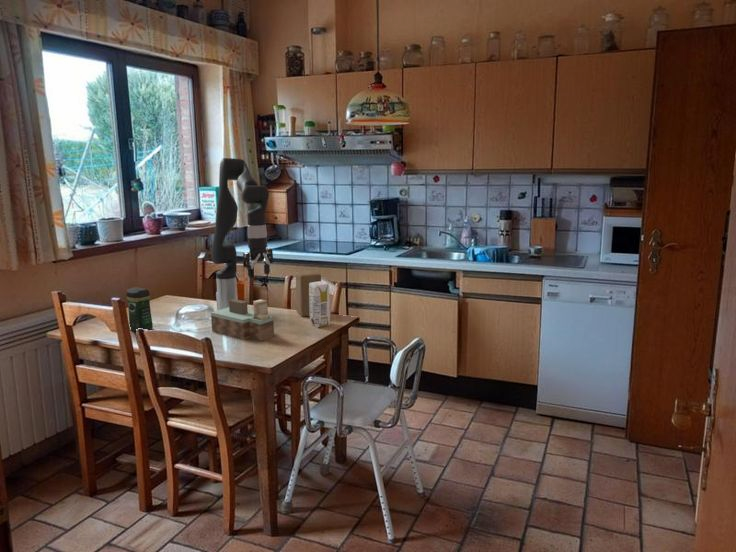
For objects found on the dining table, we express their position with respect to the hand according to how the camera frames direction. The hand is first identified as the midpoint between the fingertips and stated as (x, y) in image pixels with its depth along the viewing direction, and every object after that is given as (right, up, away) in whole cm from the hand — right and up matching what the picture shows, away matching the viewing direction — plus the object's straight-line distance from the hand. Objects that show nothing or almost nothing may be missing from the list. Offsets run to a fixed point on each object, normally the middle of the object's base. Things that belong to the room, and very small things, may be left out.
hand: (259, 275), depth 230 cm
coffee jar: (-55, -23, +17) cm, 62 cm away
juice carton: (+23, -22, +22) cm, 39 cm away
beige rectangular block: (0, -21, +4) cm, 22 cm away
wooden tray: (-8, -24, +11) cm, 28 cm away
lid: (-8, -19, +10) cm, 23 cm away
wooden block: (+16, -18, +40) cm, 47 cm away
